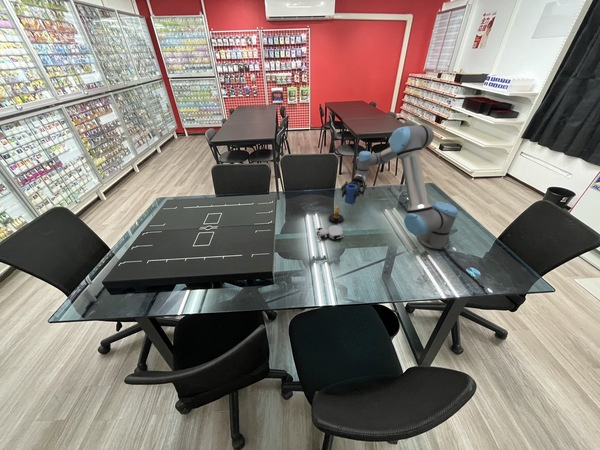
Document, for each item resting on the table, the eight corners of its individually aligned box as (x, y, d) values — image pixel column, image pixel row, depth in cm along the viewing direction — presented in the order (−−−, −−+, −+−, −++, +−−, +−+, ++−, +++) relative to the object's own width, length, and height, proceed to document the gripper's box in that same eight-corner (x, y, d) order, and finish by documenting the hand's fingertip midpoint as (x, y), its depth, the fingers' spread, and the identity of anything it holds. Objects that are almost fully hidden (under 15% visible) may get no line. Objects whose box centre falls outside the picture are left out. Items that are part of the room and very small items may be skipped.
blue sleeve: (355, 204, 146) (357, 188, 141) (345, 203, 147) (346, 188, 141) (354, 199, 151) (356, 184, 146) (344, 198, 152) (346, 183, 146)
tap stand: (343, 224, 154) (344, 210, 149) (328, 223, 155) (329, 209, 150) (342, 216, 162) (344, 203, 156) (329, 215, 162) (329, 202, 157)
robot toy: (318, 244, 139) (344, 241, 139) (317, 238, 136) (344, 235, 136) (315, 231, 149) (340, 229, 149) (315, 225, 146) (340, 222, 147)
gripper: (372, 189, 158) (364, 205, 141) (343, 183, 165) (332, 198, 147) (374, 178, 154) (366, 193, 136) (344, 173, 160) (333, 187, 143)
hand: (348, 196), depth 142 cm, fingers closed on blue sleeve, 6 cm apart
